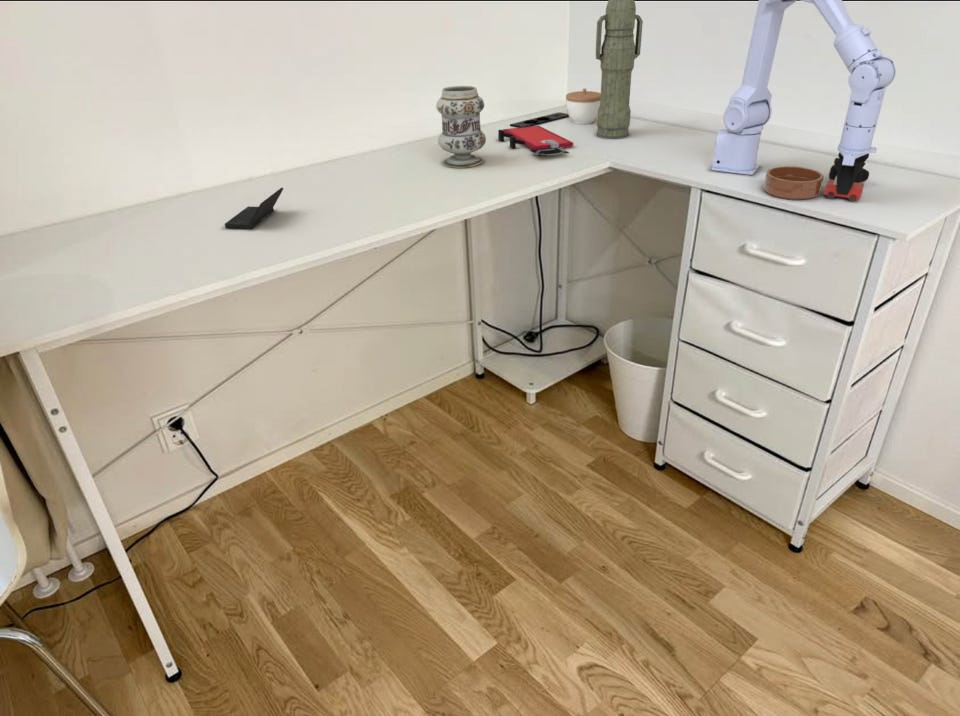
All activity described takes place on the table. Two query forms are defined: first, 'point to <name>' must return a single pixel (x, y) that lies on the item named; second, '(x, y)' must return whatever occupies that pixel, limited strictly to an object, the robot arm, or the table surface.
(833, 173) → the tape measure
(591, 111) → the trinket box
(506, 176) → the table surface
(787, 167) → the bowl
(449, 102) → the apothecary jar
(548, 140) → the red board with handle
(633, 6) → the green vase
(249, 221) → the handheld gaming console
